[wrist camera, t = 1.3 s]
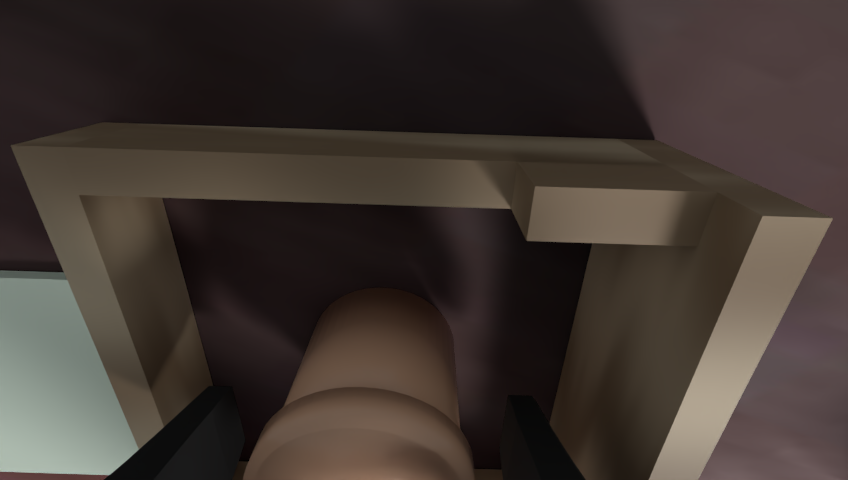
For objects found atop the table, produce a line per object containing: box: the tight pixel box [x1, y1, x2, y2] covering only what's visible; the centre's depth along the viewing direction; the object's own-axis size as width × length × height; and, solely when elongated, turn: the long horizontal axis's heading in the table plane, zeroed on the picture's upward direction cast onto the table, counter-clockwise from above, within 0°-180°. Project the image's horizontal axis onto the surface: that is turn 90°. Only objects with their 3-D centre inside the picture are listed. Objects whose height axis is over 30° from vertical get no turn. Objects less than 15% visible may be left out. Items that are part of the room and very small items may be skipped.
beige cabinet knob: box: [243, 287, 475, 480], centre depth 11 cm, size 5×5×5 cm
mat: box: [0, 270, 139, 475], centre depth 14 cm, size 9×9×1 cm
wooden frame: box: [10, 122, 833, 480], centre depth 11 cm, size 14×14×5 cm
